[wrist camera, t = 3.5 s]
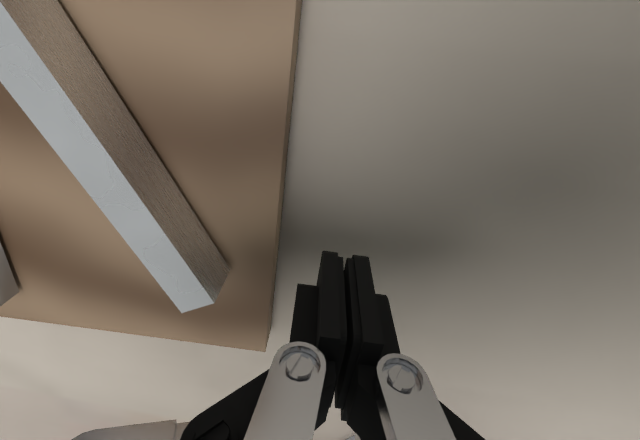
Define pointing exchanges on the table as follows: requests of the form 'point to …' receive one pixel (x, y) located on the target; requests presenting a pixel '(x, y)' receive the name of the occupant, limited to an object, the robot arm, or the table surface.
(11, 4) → the tong arm
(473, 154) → the table surface
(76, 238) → the board
